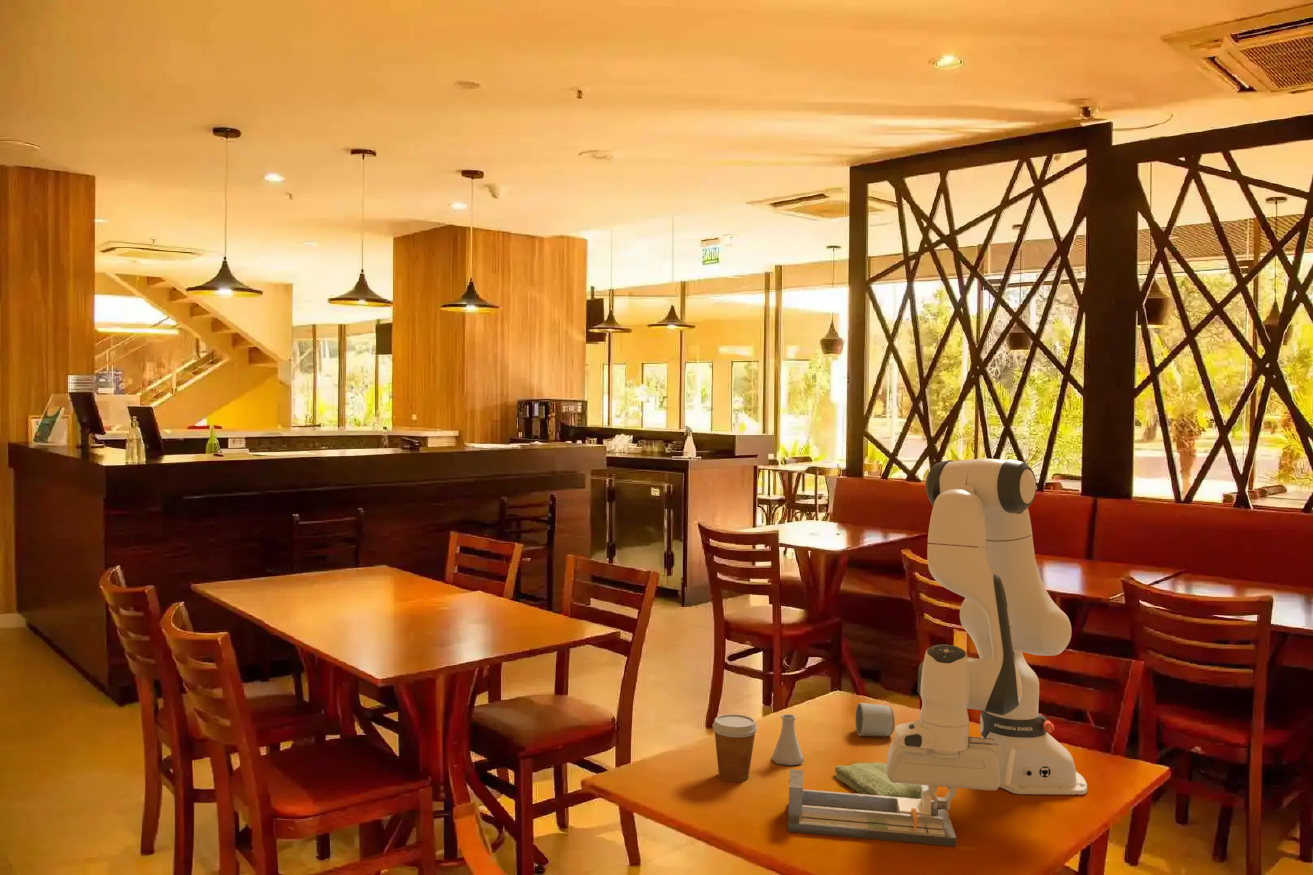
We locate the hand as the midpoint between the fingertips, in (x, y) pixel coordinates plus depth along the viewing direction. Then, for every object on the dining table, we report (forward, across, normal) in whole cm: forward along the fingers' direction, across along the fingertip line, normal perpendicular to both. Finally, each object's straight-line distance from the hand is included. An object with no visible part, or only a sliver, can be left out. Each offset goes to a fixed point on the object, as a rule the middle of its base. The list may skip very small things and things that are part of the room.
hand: (941, 808), depth 179 cm
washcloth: (+5, +10, -19) cm, 22 cm away
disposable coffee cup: (+4, +40, -18) cm, 44 cm away
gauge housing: (+4, +13, 0) cm, 14 cm away
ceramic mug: (+4, +9, -53) cm, 54 cm away
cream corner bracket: (+2, +5, +2) cm, 6 cm away
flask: (+4, +29, -30) cm, 42 cm away
